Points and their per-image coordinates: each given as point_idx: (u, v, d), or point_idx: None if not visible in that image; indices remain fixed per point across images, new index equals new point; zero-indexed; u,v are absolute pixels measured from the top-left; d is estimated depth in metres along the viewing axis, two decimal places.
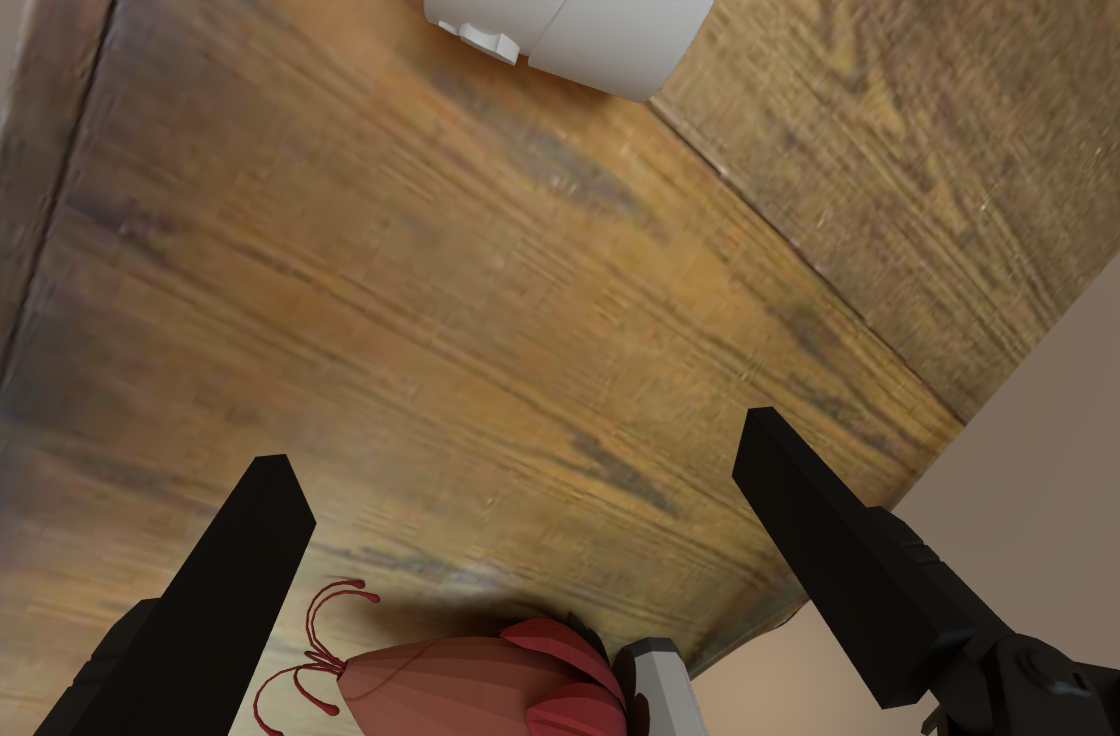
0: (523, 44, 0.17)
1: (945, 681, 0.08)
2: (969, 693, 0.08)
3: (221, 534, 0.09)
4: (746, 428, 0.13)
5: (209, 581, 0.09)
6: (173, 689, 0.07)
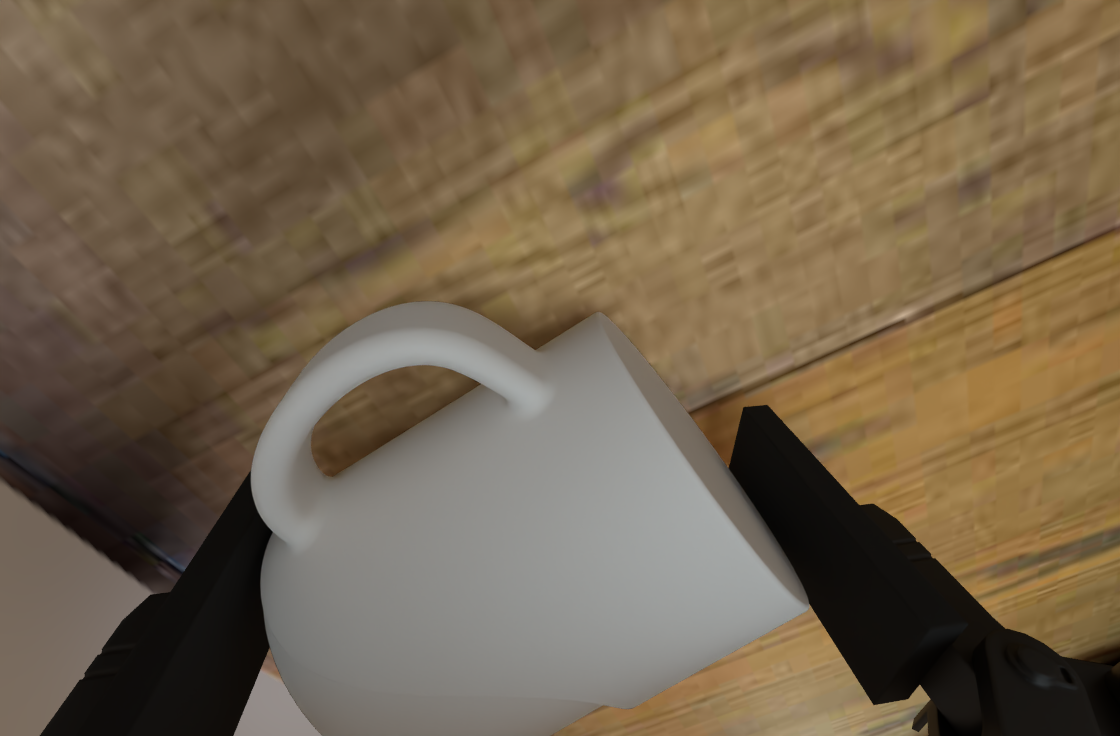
0: None
1: (936, 677, 0.08)
2: (959, 689, 0.08)
3: (229, 530, 0.10)
4: (741, 426, 0.13)
5: (219, 576, 0.09)
6: (184, 681, 0.08)
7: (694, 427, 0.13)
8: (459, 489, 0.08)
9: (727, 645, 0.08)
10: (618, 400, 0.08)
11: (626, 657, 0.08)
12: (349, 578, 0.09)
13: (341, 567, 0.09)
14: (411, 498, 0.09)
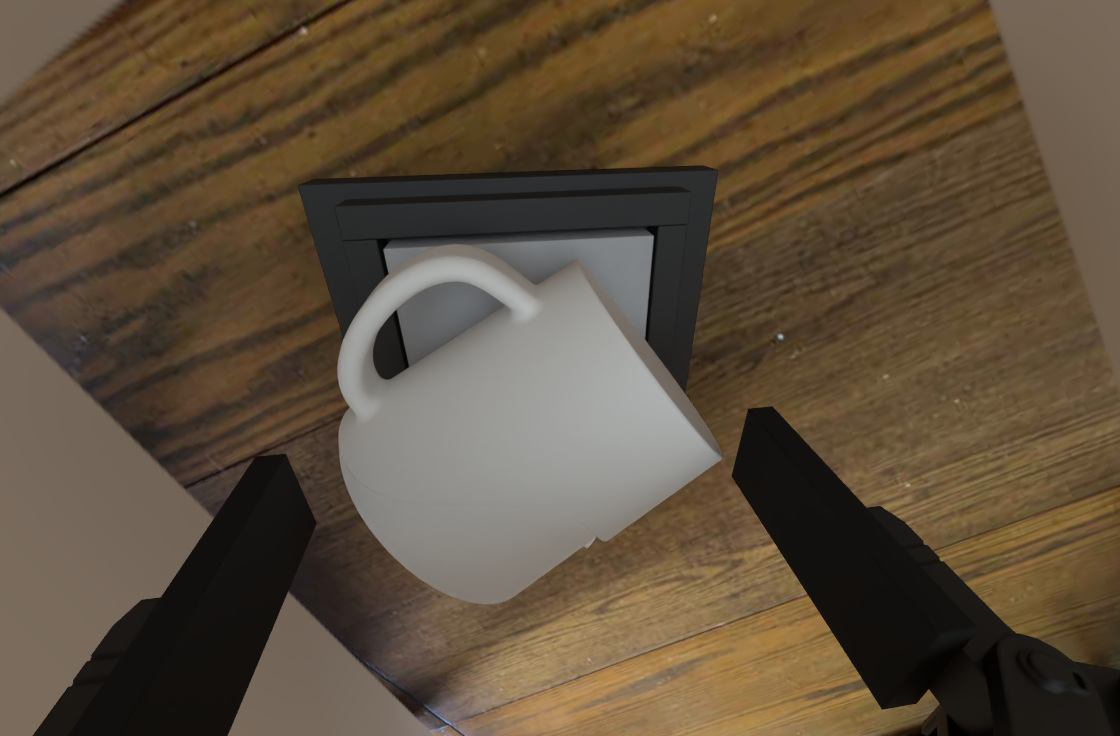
0: None
1: (945, 681, 0.08)
2: (969, 693, 0.08)
3: (221, 534, 0.09)
4: (746, 428, 0.13)
5: (209, 582, 0.09)
6: (173, 689, 0.07)
7: (655, 357, 0.17)
8: (478, 368, 0.12)
9: (657, 473, 0.12)
10: (584, 304, 0.12)
11: (588, 474, 0.12)
12: (403, 430, 0.13)
13: (397, 425, 0.13)
14: (445, 378, 0.13)
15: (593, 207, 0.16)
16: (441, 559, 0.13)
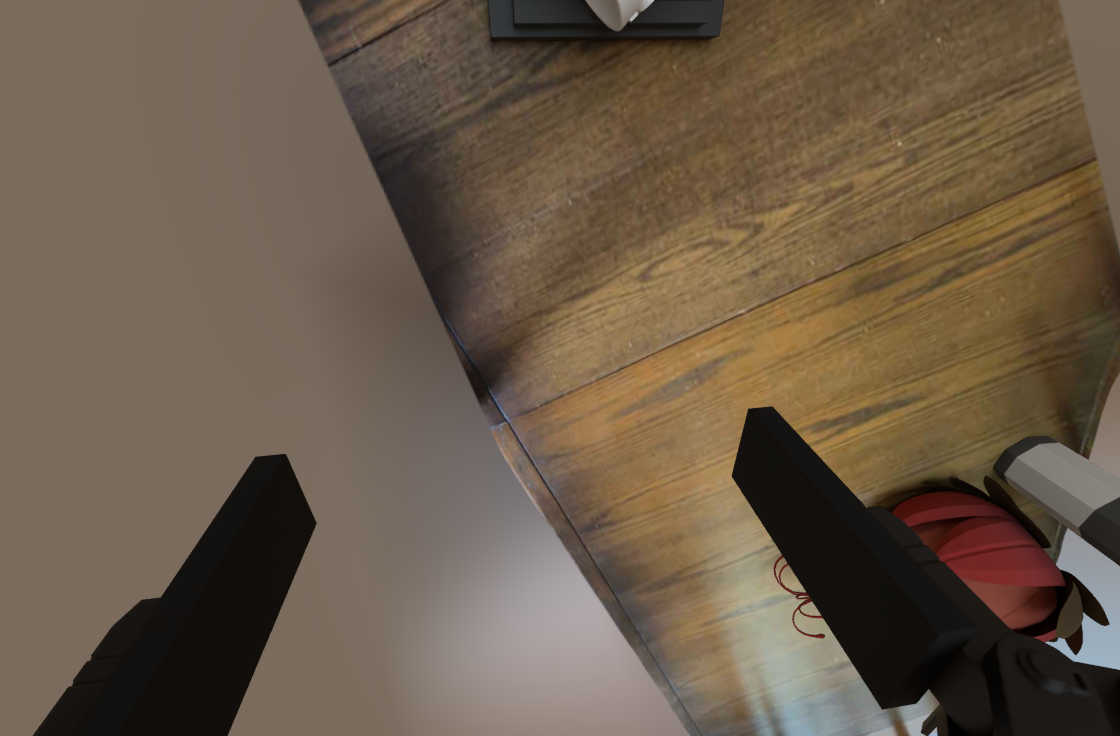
0: None
1: (945, 681, 0.08)
2: (969, 693, 0.08)
3: (221, 534, 0.09)
4: (746, 428, 0.13)
5: (210, 582, 0.09)
6: (173, 689, 0.07)
7: None
8: None
9: None
10: None
11: None
12: None
13: None
14: None
15: None
16: None
